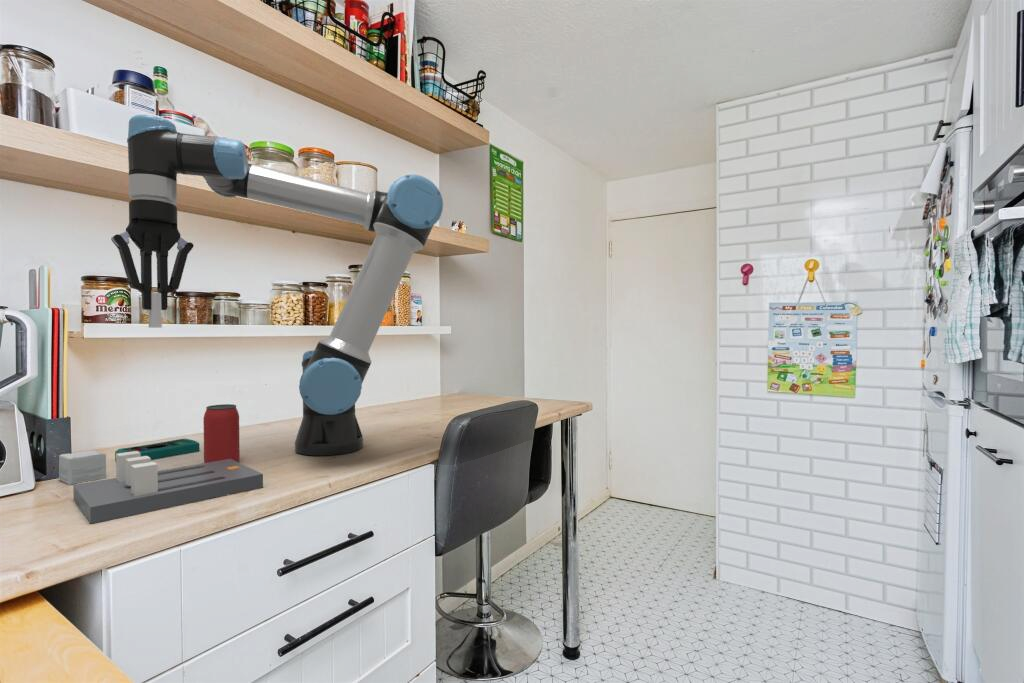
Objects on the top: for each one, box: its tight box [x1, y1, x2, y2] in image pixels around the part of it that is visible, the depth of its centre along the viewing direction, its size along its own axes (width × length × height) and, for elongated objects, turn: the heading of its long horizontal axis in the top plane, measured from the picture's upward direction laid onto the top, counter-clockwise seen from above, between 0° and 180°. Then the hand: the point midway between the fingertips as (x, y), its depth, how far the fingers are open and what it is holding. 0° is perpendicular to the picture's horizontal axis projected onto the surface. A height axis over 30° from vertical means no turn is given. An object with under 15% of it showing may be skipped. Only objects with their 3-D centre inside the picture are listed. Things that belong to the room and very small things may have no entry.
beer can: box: [203, 403, 241, 463], centre depth 109 cm, size 7×7×12 cm
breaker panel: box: [72, 451, 264, 525], centre depth 89 cm, size 24×16×7 cm, turn 137°
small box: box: [58, 449, 107, 486], centre depth 97 cm, size 6×6×5 cm
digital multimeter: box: [114, 438, 200, 461], centre depth 116 cm, size 7×15×3 cm, turn 146°
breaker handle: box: [125, 456, 152, 486], centre depth 86 cm, size 3×2×4 cm
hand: (155, 327), depth 99 cm, fingers closed
